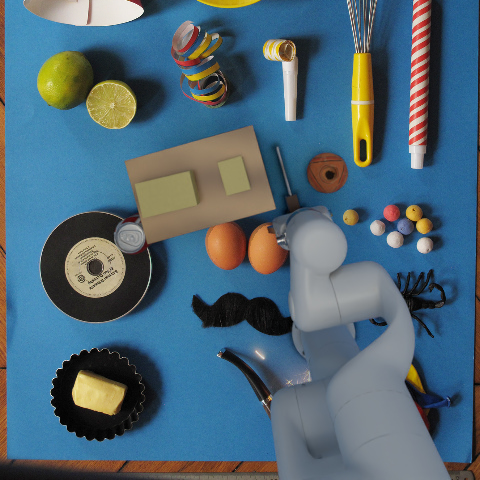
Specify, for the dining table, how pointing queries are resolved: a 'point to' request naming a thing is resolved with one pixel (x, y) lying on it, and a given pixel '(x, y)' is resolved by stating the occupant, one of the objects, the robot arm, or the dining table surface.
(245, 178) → the butter slice
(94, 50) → the dining table surface
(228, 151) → the cutting board
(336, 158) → the pot
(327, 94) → the dining table surface
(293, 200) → the knife
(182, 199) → the butter block
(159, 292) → the dining table surface
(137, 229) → the soda can
